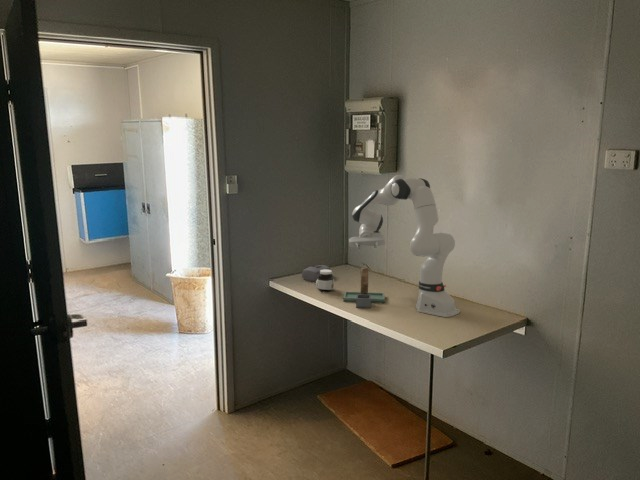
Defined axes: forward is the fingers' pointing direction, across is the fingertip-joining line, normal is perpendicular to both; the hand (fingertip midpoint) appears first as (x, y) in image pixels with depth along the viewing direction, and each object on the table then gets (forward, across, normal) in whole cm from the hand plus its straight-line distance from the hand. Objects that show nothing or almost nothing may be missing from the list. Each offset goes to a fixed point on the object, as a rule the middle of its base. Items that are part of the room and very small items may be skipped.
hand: (367, 247), depth 284 cm
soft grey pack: (-25, -33, +31) cm, 51 cm away
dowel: (+16, -3, +23) cm, 28 cm away
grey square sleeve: (+28, -4, +21) cm, 35 cm away
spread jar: (0, -27, +25) cm, 37 cm away
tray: (+16, -3, +24) cm, 29 cm away
